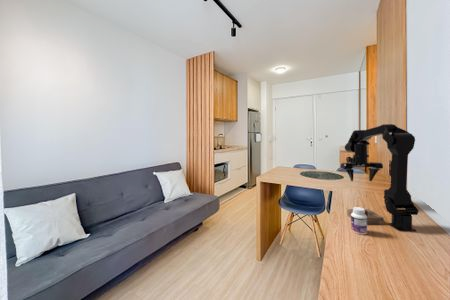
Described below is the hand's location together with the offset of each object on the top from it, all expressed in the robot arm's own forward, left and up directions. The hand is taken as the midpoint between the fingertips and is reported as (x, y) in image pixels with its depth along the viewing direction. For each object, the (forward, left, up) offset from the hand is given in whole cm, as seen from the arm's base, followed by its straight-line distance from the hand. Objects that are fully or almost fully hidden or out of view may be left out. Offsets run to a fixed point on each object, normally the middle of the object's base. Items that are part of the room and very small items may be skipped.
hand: (361, 181), depth 105 cm
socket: (-17, +9, -14) cm, 24 cm away
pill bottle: (-29, +18, -14) cm, 37 cm away
